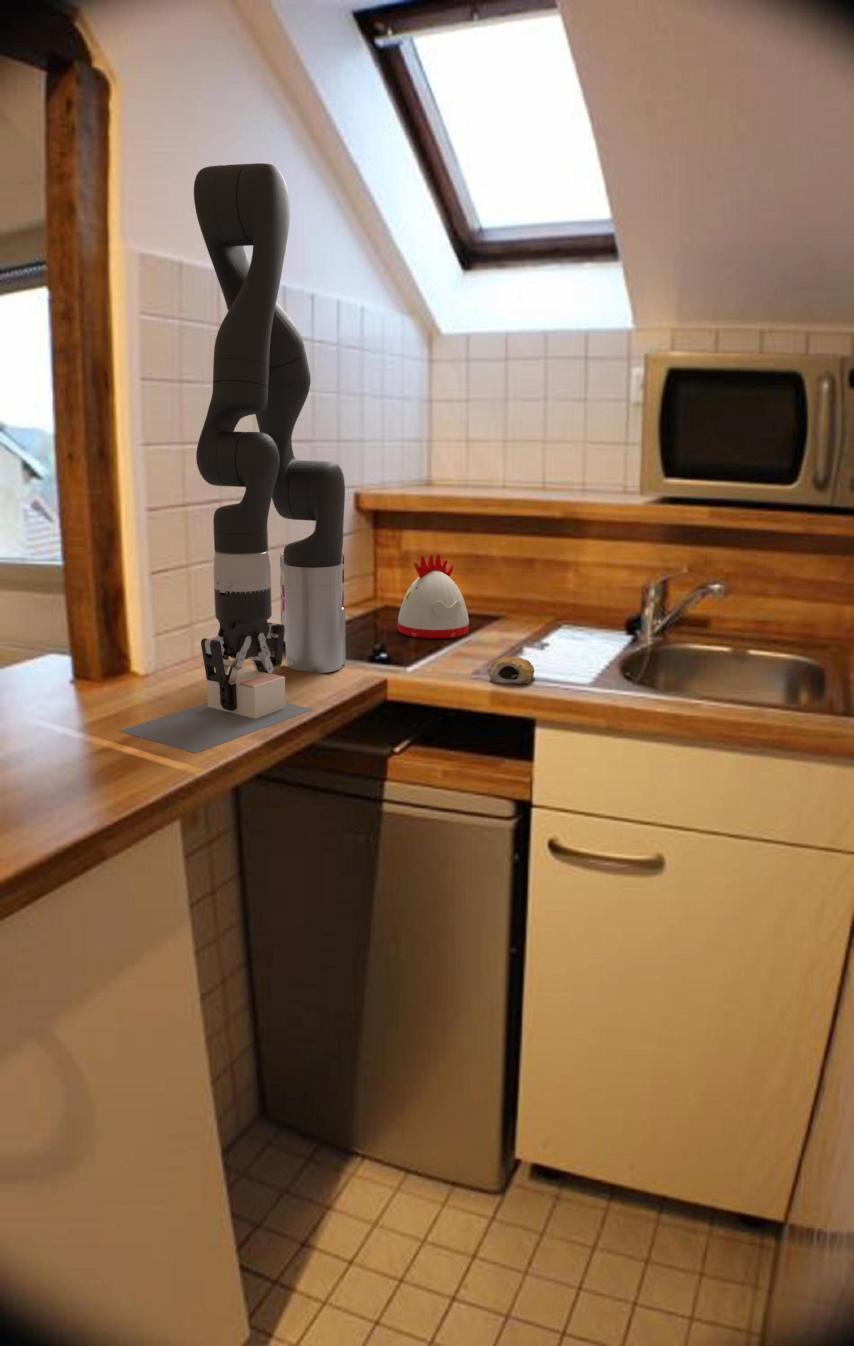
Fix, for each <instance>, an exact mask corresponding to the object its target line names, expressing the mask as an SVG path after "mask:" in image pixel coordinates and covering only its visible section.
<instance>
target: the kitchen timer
mask: <svg viewBox="0 0 854 1346" xmlns="http://www.w3.org/2000/svg"><path fill="white" fill-rule="evenodd" d="M426 562H427V563H426ZM447 563H448V559H445V558H444V559H443V561H441V554H439V553H436V555H435V561H434V556H433V554H429V556H428V561H426V559H425V556H424V555H420V563H419V565H418V563H417V562H414V561H413V566H414V569H415V571H416V573H417V575H418V577H417V578H416V579H415V580H414V581H413V582H412V584H411V585H410V586H409V587H408V589H407V591H406V592H405V595H404V597H403V600H402V604H401V606H400V608H399V612H398V618H397V631H398V632H399V633H401V634H402V635H406V636H410V637H414V638H416V637H417V638H423V639H449V638H456V637H461V636H465V635H467V634H469V628H470V627H469V626H470V619H469V614H468V609H467V606H466V603H465V599H464V597H463V594H462V592H461V590H460V588H459V586H458V585H457V584H456V582H455V581H454V579H452V578H451V577H450V576H451V574H452V572H453V569H454V565H453V564H450V566H449V567H448V569H447V570H446V568H447Z"/></svg>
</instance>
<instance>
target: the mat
mask: <svg viewBox="0 0 854 1346" xmlns="http://www.w3.org/2000/svg"><path fill="white" fill-rule="evenodd" d="M285 704H286V708H284V709H281V710H278V711H276V712H273V713H270V714H267V715H264V716H262V717H259V718H256V719H255V718H251V717H247V716H243V715H239V714H235V713H231V712H227V711H223V710H219V709H215V708H211V707H208V702H205V703H201V704H199V705H195V706H193V707H189V708H186V709H183V710H180V711H176V712H173V713H170V714H168V715H164V716H161V717H158V718H154V719H152V720H149V721H146V722H141V723H139V724H135V725H133V726H129V727H126V728H123V729H120V730H118V732H120V733H124V734H127V735H130V736H134V737H137V738H141V739H145V740H148V741H150V742H155V743H158V744H161V745H166V746H169V747H173V748H175V749H178V750H182V751H186V752H190V753H193V754H198V753H201V752H203V751H206V750H209V749H212V748H213V747H217V746H219V745H222V744H225V743H227V742H230V741H233V740H235V739H238V738H241V737H244V736H247V735H250V734H252V733H255V732H257V731H260V730H262V729H265V728H268V727H270V726H273V725H276V724H280V723H281V722H284V721H286V720H287V721H288V720H289V719H292V718H295V717H297V716H300V715H303V714H305V713H308V712H311V711H313V710H315V709H314V708H312V707H306V706H303V705H299V704H294V703H290V702H286V701H285Z"/></svg>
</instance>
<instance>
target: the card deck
mask: <svg viewBox="0 0 854 1346" xmlns="http://www.w3.org/2000/svg"><path fill="white" fill-rule="evenodd" d="M229 670H230V668H228V670H227V674H226V675H228V674H229ZM234 684H236V696H237V709H236V710H233V711H230V710H226V709H224V708H223V707H222V706H221V703H220V686H219V683H218V682H215V681H209V680H207V679H206V691H207V692H206V693H207V696H206V697H207V703H208V707H211V708H215V709H219V710H223V711H227V712H231V713H235V714H239V715H243V716H247V717H251V718H255V719H256V718H259V717H262V716H264V715H267V714H270V713H273V712H276V711H278V710H281V709H284V708H286V704H285V702H286V676H284V675H280V674H279V675H278V674H275V673H270V674H269V673H264V672H260V671H257V670H256V669H255V670H254V669H250V668H245V667H242V668H241V669H239V671H238V674H237V677H236V681H235V683H234Z"/></svg>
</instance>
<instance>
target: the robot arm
mask: <svg viewBox="0 0 854 1346" xmlns="http://www.w3.org/2000/svg"><path fill="white" fill-rule="evenodd" d="M287 185H288V184H287V183H286V180H285V178H284V176H283V174H282V172H281V170H280V169H279V168H278V167H276V166H275V165H273V164H271V163H265V162H264V163H261V162H259V163H258V162H257V163H255V162H253V163H240V164H237V163H235V164H224V165H222V164H220V165H209V166H205V167H202V168H201V169H200V170H199V171H198V172H197V173H196V177H195V178H194V184H193V201H194V209H195V214H196V218H197V222H198V225H199V228H200V231H201V235H202V238H203V241H204V243H205V247H206V249H207V252H208V255H209V257H210V261H211V263H212V266H213V269H214V272H215V274H216V278H217V282H218V283H219V286H220V289H221V291H222V295H223V297H224V301H225V305H226V309H227V313H226V314H225V316H224V318H223V320H222V322H221V323H220V326H219V329H218V331H217V334H216V337H215V343H214V348H213V363H212V364H213V366H212V368H213V370H212V394H211V398H210V402H209V405H208V410H207V413H206V415H205V416H206V417H205V420H204V423H203V426H202V429H201V433H200V435H199V439H198V443H197V445H196V446H197V447H196V455H195V459H196V466H197V468H198V469H197V470H198V471H199V474H200V475H201V477H202V479H203V480H204V481H205V482H207V483H208V484H209V485H211V486H216V487H235V488H236V487H237V488H245V491H244V494H243V496H242V499H241V500H240V502H238V503H234V504H227V505H222V506H220V507H218V508H216V510H215V511H214V513H213V545H214V546H213V547H214V555H213V556H214V558H213V590H214V591H213V592H214V593H213V594H214V615H215V618H216V620H217V621H218V624H219V629H218V632H217V636H214V637H212V638H206V637H205V638H204V637H203V638H202V639H201V641H200V646H201V647H200V648H201V653H202V658H203V665H204V671H205V676H206V677H205V678H206V681H207V680H209V681H215V682H218V683H219V686H220V703H221V706H222V707H223V708H224V709H226V710H230V711H233V710H236V709H237V696H236V684H234V683H235V681H236V677H237V674H238V671H239V669H241V668H243V665H244V663H245V662H244V661H245V660H247V659H250V660H251V662H252V664H253V666H254V667H253V668H254V669H255V671H260V672H264V673H269V674H270V673H271V674H273V671H274V669H275V668H276V667H280V666H281V665H282V663H283V654H284V653H283V652H284V644H283V641H284V625H281V623H275V622H268V620H269V619H270V618H271V617H272V586H271V585H272V580H271V576H272V575H271V564H270V557H269V543H268V542H269V535H268V534H269V533H268V519H269V518H268V517H269V514H270V512H269V511H270V507H271V504H272V503H273V506H274V509H275V510H276V512H277V513H278V515H279V516H280V517H282V518H283V519H288V520H295V521H314V522H315V527H314V531H313V532H312V533H311V534H310V535H308V536H307V537H305V538H303V539H300V540H297V541H294V542H291V543H289V544H286V545H285V546H284V549H283V554H284V589H285V641H286V644H285V667H287V668H288V669H290V670H294V671H300V672H309V673H314V674H326V673H331V672H336V671H339V670H340V669H341V668H343V665H346V663H347V662H346V658H347V657H346V609H345V608H344V606H343V607H342V564H341V563H342V553H343V547H344V522H345V520H344V519H345V518H344V517H345V500H346V499H345V498H346V485H345V477H344V473H343V470H342V468H341V467H340V465H339V464H338V463H337V462H334V461H327V460H326V461H325V460H324V461H323V460H321V461H320V460H297V458H296V457H295V455H294V451H293V445H292V443H293V442H292V440H293V439H292V437H293V432H294V429H295V425H296V422H297V421H298V418H299V416H300V413H301V412H302V411H303V410H302V409H303V407H304V405H305V402H306V401H307V398H308V395H309V392H310V388H311V383H312V382H311V378H312V377H311V371H310V368H309V363H308V362H309V361H308V356H307V354H306V353H307V352H306V348H305V343H304V339H303V337H302V333H301V332H300V330H299V328H298V326H297V325H296V324H295V322H294V321H293V320H292V319H291V317H290V316H289V315H288V314H287V312H286V311H285V310H284V309H283V307H282V306H281V305H280V304H279V303H278V302H277V299H278V295H279V290H280V284H281V279H282V273H283V267H284V262H285V255H286V249H287V243H288V237H289V230H290V220H291V204H290V203H291V202H290V195H289V194H290V193H289V188H288V186H287ZM247 246H249V247H250V246H251V247H252V255H251V260H250V258H249V256H248V253H247V250H246V248H245V247H247ZM251 415H255V419H256V423H257V427H258V431H235V429H236V426H237V425H238V423H239V422H240V420H242V419H243V418H245V417H249V416H251ZM271 502H272V503H271ZM273 649H274V654H273ZM229 657H230V658H231V659H234V660H230V658H229ZM228 669H230V670H229V674H228V675H226V674H227V670H228Z"/></svg>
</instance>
